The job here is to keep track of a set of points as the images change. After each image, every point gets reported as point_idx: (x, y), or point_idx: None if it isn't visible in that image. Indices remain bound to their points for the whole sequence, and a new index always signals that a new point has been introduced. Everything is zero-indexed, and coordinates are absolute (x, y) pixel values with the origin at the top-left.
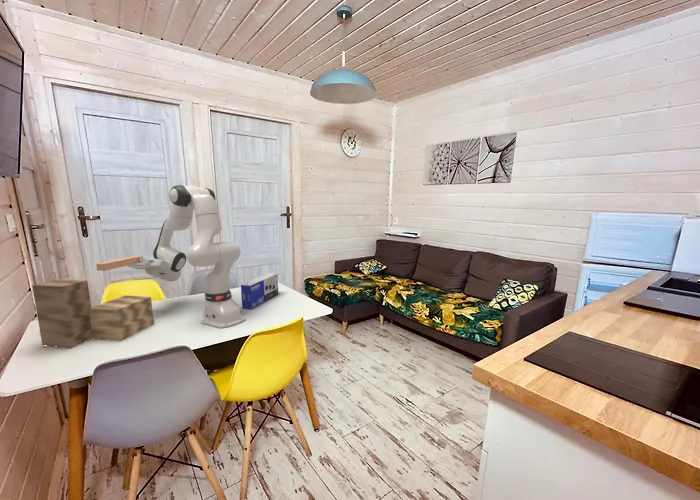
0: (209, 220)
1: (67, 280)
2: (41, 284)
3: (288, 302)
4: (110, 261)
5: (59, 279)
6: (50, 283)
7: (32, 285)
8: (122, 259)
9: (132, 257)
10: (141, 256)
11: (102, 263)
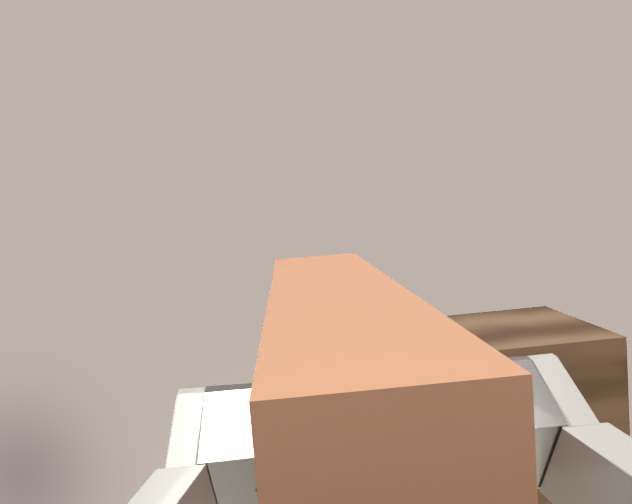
0: None
1: (521, 340)
2: (528, 312)
3: None
4: (333, 266)
5: (614, 336)
6: (515, 320)
7: (544, 306)
8: (315, 287)
9: (324, 324)
10: (251, 397)
11: (309, 258)
